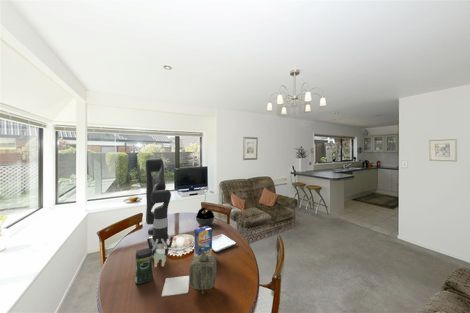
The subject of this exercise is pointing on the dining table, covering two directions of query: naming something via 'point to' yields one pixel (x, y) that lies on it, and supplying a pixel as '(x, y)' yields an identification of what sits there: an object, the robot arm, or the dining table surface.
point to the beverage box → (203, 240)
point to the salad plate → (221, 242)
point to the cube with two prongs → (159, 257)
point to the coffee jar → (143, 265)
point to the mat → (176, 286)
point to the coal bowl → (205, 217)
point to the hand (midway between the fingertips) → (160, 255)
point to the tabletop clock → (202, 271)
